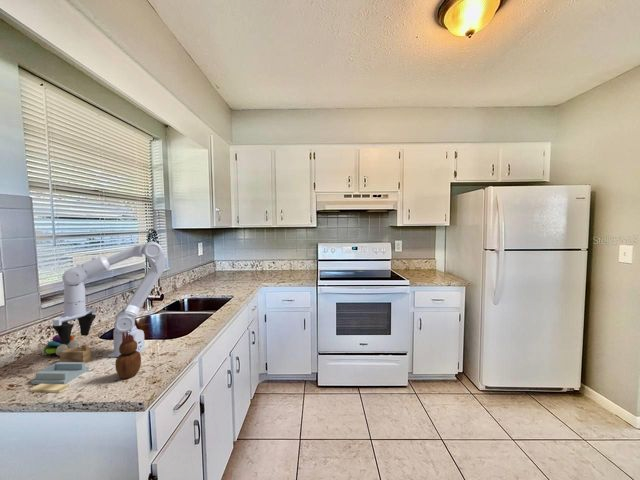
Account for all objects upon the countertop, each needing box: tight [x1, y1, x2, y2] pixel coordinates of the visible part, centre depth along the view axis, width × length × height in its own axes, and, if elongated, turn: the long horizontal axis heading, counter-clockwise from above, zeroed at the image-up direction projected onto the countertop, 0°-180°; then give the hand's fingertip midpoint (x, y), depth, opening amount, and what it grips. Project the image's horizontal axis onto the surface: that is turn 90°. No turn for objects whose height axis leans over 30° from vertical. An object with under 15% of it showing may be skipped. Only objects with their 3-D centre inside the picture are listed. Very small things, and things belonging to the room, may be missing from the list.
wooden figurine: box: [114, 332, 142, 379], centre depth 91 cm, size 7×6×15 cm
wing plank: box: [29, 384, 70, 394], centre depth 83 cm, size 9×3×1 cm, turn 87°
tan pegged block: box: [59, 344, 92, 364], centre depth 100 cm, size 8×4×6 cm, turn 90°
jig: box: [31, 361, 90, 385], centre depth 90 cm, size 10×9×3 cm
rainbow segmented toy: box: [41, 334, 79, 356], centre depth 108 cm, size 8×10×7 cm
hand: (75, 339), depth 100 cm, fingers open, 7 cm apart
